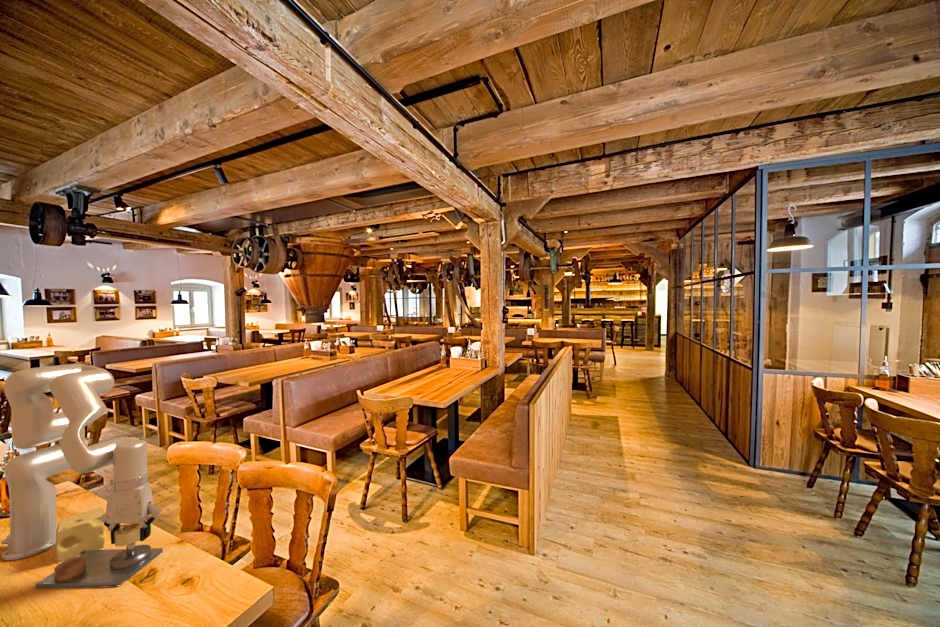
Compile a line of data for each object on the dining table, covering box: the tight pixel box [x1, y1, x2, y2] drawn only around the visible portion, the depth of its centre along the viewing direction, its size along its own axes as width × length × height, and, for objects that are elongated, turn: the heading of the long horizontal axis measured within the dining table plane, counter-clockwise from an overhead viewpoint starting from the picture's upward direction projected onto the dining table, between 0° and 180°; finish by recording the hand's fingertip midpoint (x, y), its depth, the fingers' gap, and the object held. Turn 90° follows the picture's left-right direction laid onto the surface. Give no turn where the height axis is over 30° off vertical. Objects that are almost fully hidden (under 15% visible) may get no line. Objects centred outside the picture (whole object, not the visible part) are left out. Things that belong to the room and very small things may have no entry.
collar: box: [113, 519, 146, 547], centre depth 106 cm, size 7×7×4 cm
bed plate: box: [34, 547, 163, 590], centre depth 104 cm, size 23×14×1 cm, turn 92°
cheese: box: [55, 506, 106, 564], centre depth 113 cm, size 10×11×10 cm
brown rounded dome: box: [54, 555, 86, 582], centre depth 100 cm, size 6×6×4 cm
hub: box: [110, 542, 152, 570], centre depth 106 cm, size 9×9×7 cm
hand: (131, 539), depth 106 cm, fingers closed on collar, 7 cm apart
